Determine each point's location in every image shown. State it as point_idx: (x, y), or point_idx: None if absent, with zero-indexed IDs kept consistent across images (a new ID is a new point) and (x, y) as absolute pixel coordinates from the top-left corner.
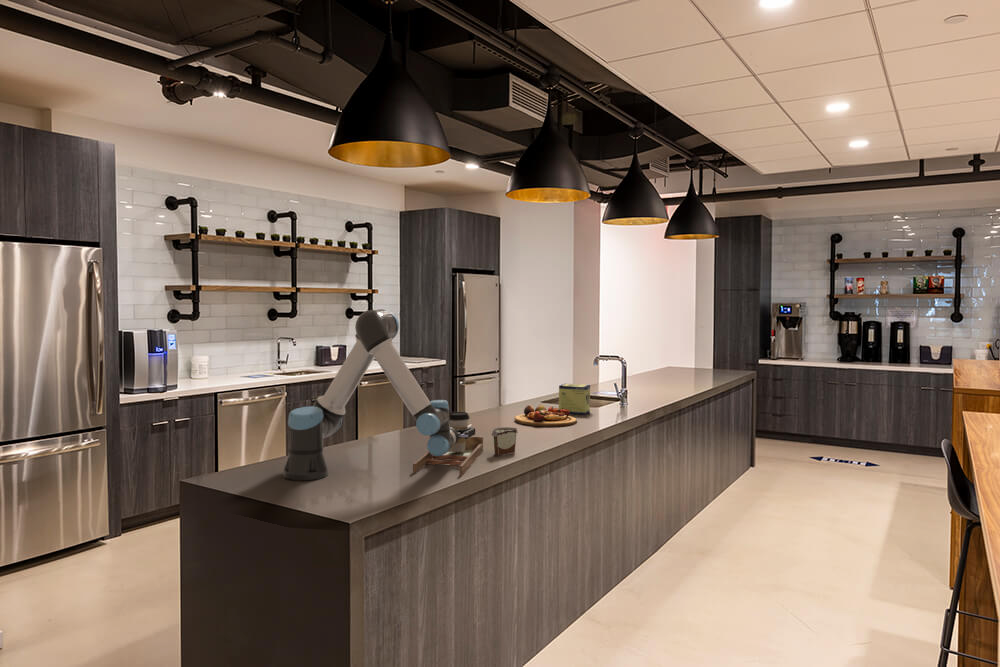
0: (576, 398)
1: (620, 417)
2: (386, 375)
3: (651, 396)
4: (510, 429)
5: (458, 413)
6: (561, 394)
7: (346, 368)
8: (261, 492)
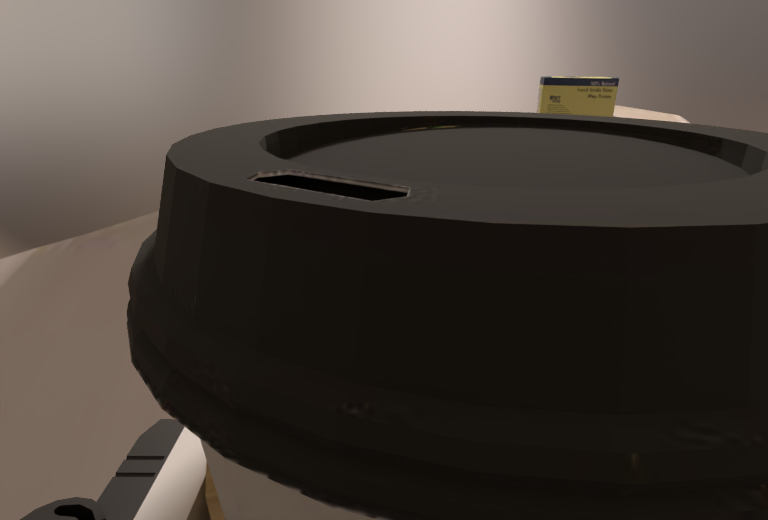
0: (589, 110)
1: None
2: None
3: (624, 117)
4: None
5: (482, 143)
6: (548, 101)
7: None
8: None
